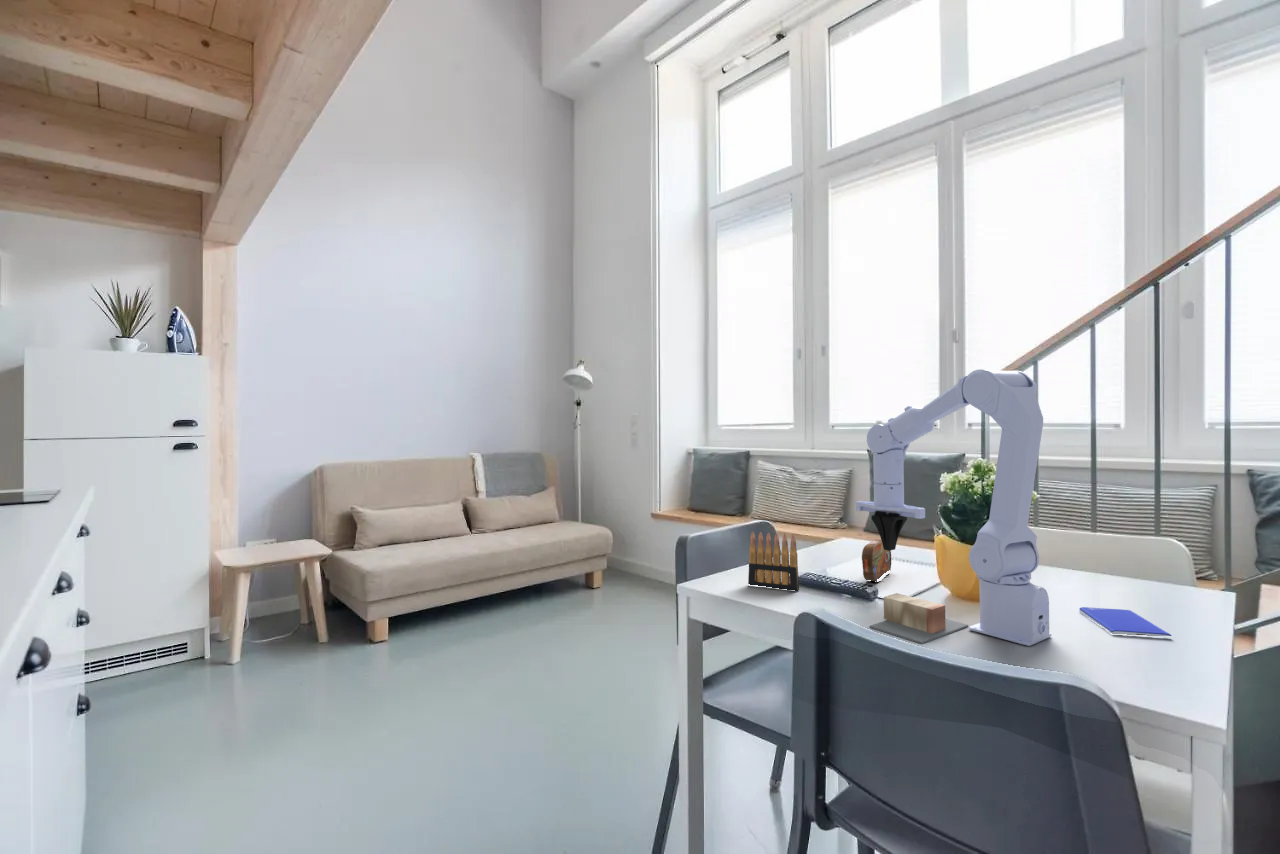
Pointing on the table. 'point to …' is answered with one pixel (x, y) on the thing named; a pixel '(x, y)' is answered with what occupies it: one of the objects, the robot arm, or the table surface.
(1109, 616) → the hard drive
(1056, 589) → the table surface
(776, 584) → the ammunition clip
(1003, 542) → the robot arm
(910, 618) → the block
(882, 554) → the tin
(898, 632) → the mat
